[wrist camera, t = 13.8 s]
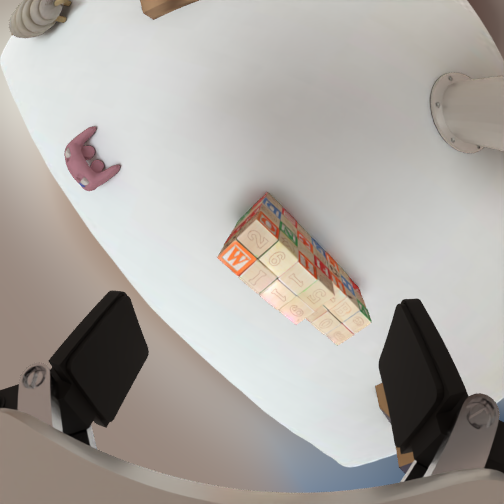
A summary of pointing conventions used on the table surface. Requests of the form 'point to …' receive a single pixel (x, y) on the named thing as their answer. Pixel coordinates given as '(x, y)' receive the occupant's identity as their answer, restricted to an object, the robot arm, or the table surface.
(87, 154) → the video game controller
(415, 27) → the table surface
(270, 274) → the stack of blocks
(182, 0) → the base block
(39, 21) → the toy sheep
